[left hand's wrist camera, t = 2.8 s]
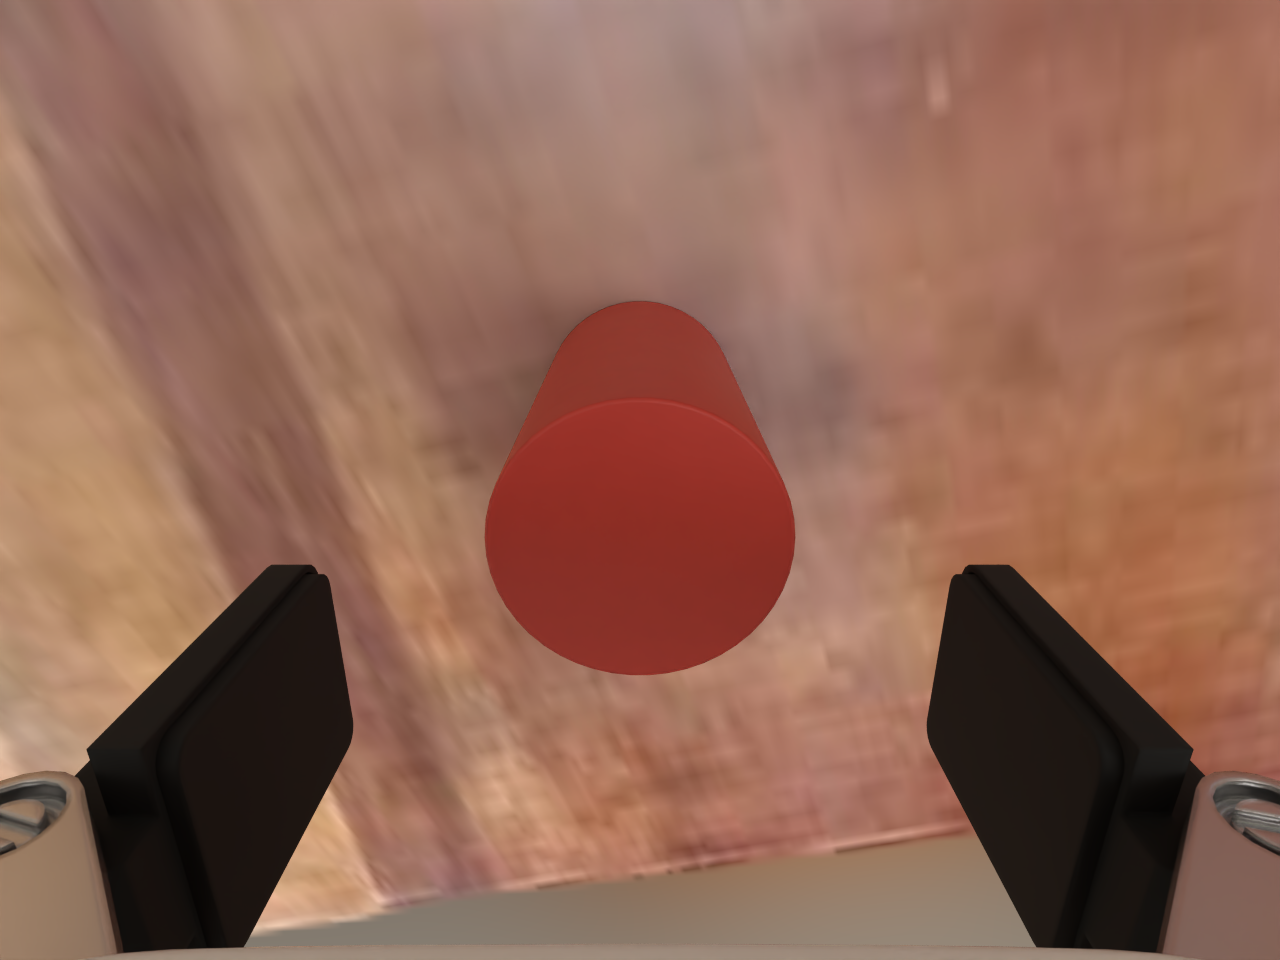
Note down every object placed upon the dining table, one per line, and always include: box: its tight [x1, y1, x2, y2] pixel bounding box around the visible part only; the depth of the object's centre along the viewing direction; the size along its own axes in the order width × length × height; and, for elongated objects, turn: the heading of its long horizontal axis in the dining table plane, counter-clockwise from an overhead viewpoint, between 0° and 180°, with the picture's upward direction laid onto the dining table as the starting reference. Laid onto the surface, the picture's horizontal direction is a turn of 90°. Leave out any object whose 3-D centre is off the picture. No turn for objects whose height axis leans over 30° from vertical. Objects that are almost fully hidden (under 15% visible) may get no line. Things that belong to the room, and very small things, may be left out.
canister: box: [485, 302, 795, 675], centre depth 18 cm, size 6×6×10 cm
